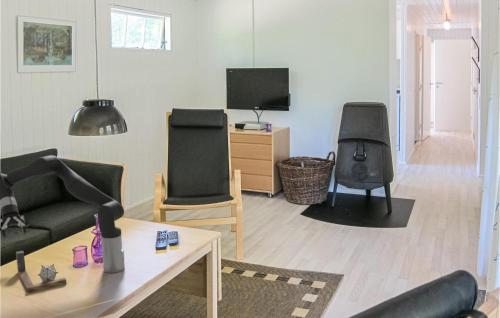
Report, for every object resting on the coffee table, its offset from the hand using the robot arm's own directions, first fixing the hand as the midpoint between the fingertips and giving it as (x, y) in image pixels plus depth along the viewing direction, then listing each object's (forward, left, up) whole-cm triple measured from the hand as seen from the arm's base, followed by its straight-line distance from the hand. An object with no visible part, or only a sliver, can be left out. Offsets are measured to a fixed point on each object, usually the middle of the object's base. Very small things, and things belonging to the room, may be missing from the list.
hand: (14, 235), depth 239 cm
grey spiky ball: (-9, +29, -16) cm, 34 cm away
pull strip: (-6, +23, -15) cm, 29 cm away
